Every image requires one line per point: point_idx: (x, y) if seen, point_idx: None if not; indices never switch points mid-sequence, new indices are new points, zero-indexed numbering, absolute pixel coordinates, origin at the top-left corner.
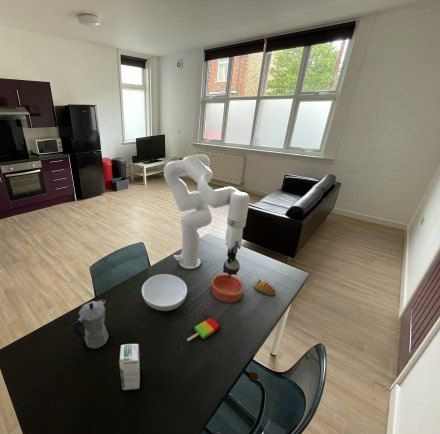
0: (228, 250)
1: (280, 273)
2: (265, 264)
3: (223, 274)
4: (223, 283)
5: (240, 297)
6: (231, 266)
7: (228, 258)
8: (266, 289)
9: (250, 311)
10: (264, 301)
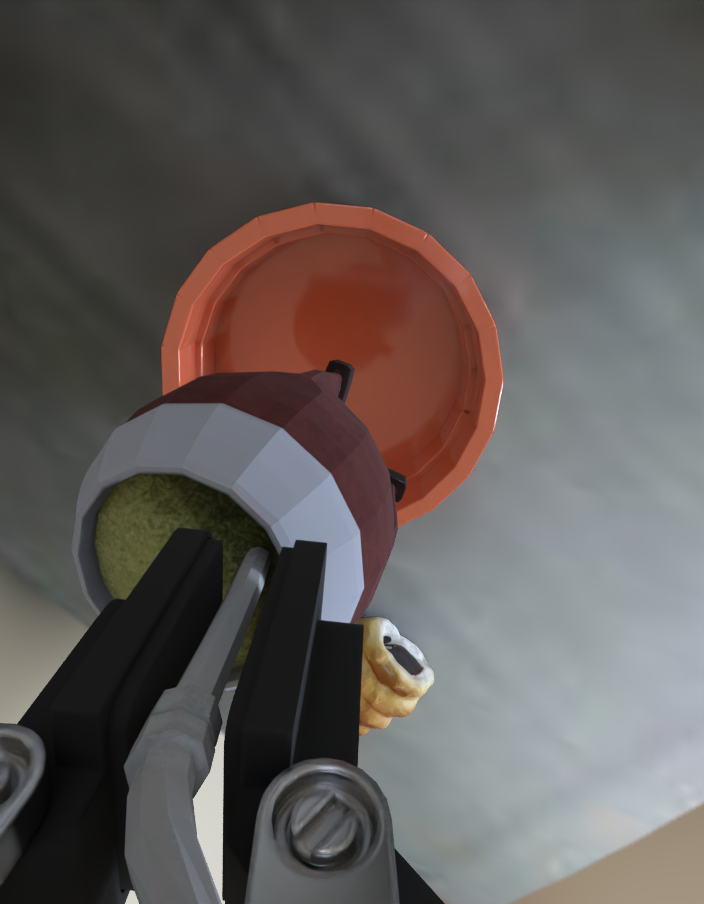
0: (248, 692)
1: (525, 828)
2: (656, 785)
3: (495, 390)
4: (445, 368)
5: None
6: (78, 511)
7: (173, 535)
8: None
9: None
10: None
